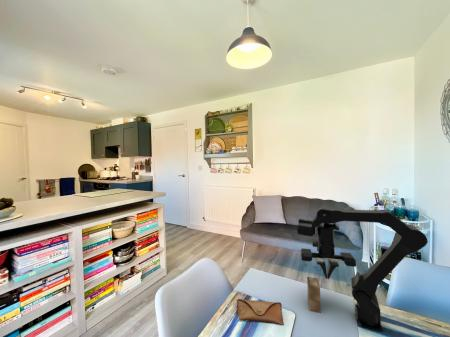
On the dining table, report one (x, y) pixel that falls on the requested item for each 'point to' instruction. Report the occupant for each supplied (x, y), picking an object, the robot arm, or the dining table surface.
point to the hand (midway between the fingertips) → (327, 278)
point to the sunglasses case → (260, 311)
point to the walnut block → (313, 294)
